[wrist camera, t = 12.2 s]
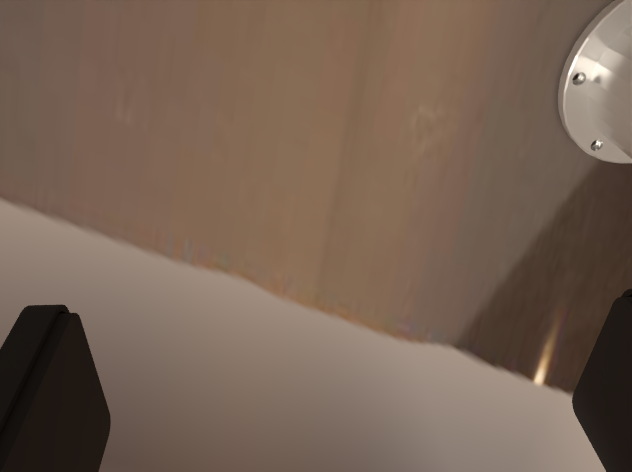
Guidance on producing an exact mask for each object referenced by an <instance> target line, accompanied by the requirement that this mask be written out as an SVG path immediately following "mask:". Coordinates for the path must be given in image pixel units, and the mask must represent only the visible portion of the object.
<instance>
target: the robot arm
mask: <svg viewBox="0 0 632 472" xmlns="http://www.w3.org/2000/svg"><path fill="white" fill-rule="evenodd" d="M574 76H575V77H574ZM558 106H559V114H560V117H561V121H562V124H563V127H564V128H565V130H566V132H567V133H568V135H569V137H570V138H571V139H572V140H573V141H574V142H575V143H576V144H577V145H578V146H579V147H580V148H581V149H583V150H584V151H585V152H586V153H588V154H589V155H591V156H593V157H596V158H598V159H601V160H603V161H608V162H613V163H632V0H614V1H613V2H612V3H610V4H609V5H608V6H607V7H605V8H604V9H603V10H602V11H601V12H600V13H599V14H598V15H597V16H596V17H595V18H594V19H593V21H592V22H591V23H590V24H589V25H588V26H587V27H586V29H585V30H584V31H583V33H582V34H581V36H580V37H579V39H578V40H577V41H576V43H575V45H574V46H573V48H572V50H571V52H570V54H569V56H568V58H567V60H566V63H565V66H564V69H563V72H562V75H561V78H560V84H559V91H558ZM572 403H573V409H574V412H575V415H576V417H577V419H578V420H579V422H580V424H581V426H582V428H583V430H584V431H585V433H586V435H587V437H588V439H589V441H590V442H591V444H592V446H593V448H594V450H595V451H596V453H597V455H598V457H599V459H600V461H601V463H602V464H603V466H604V468H605V470H606V472H632V289H628V290H627V291H625V292H624V293H623V295H622V296H621V297H619V298H617V299H616V300H615V301H614V303H613V305H612V307H611V310H610V312H609V314H608V316H607V319H606V321H605V323H604V325H603V328H602V330H601V332H600V335H599V337H598V339H597V341H596V344H595V346H594V348H593V350H592V353H591V355H590V357H589V360H588V362H587V364H586V366H585V369H584V371H583V373H582V376H581V378H580V380H579V382H578V385H577V387H576V389H575V391H574V394H573V398H572ZM109 431H110V413H109V410H108V406H107V403H106V400H105V397H104V393H103V390H102V387H101V384H100V380H99V377H98V375H97V371H96V368H95V364H94V361H93V358H92V355H91V351H90V349H89V345H88V342H87V339H86V335H85V332H84V329H83V326H82V323H81V319H80V317H79V315H78V314H77V313H70V312H69V310H68V308H67V307H66V306H65V305H34V306H27V307H25V308H24V309H23V311H22V312H21V313H20V315H19V317H18V319H17V321H16V322H15V324H14V326H13V328H12V329H11V331H10V333H9V335H8V337H7V338H6V340H5V342H4V344H3V346H2V347H1V349H0V472H98V471H99V468H100V464H101V461H102V457H103V454H104V450H105V447H106V443H107V440H108V436H109Z"/></svg>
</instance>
